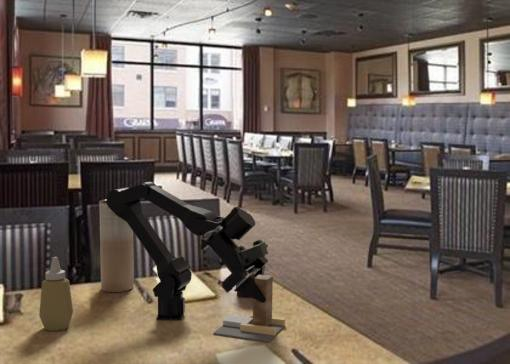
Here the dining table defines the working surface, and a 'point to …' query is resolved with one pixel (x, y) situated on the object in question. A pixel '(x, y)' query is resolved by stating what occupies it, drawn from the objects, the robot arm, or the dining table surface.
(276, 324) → the underlay
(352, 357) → the dining table surface
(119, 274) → the vase
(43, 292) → the squeeze bottle
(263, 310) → the wooden block
